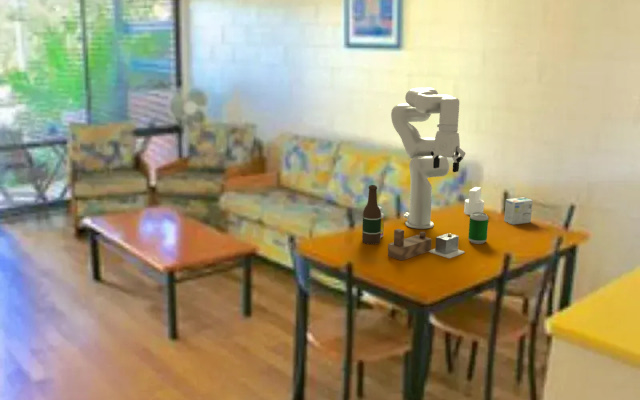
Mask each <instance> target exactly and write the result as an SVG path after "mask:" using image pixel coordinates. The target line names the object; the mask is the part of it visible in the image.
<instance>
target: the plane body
mask: <svg viewBox="0 0 640 400" xmlns="http://www.w3.org/2000/svg"><path fill="white" fill-rule="evenodd" d="M426 234H427V233H426V232H425V231H420V232H419V234H415V235H413V236H410V237H407V238H405V230H404V229H401V228H397V229H394V231H393V242H390V243H388V246H387V256H388V257H389V258H393V259H396V260H399V261H405V260H407V259H410V258H413V257H416V256H419V255H422V254H425V253H429V250H432V243H433V242H432V241H433V239H432V238H430V237H427V236H426Z"/></svg>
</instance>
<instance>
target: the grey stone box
mask: <svg viewBox="0 0 640 400" xmlns="http://www.w3.org/2000/svg"><path fill="white" fill-rule="evenodd" d="M459 238H460V237H459V235H457V234H453V233H451V232H448V233H444V234H442V235H438V236H436V237H435V248H434V249H435V252H439V253H442V254H445V255H446V254H449V253H452V252H454V251H457V250H459V241H460V240H459Z"/></svg>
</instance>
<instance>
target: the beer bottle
mask: <svg viewBox="0 0 640 400" xmlns="http://www.w3.org/2000/svg"><path fill="white" fill-rule="evenodd" d="M377 194H378V186H377V185H375V184H370V185H368V196H367V197H368V198H367V203H366V205H365V207H364V208H363V211H362V231H361V233H362V234H361V239H362V243H364V244H366V245H377V244H380V243H381V238H380V235H381V212H382V211H381V212H380V209H379V207H378V206H379V205H378V197H377V196H378V195H377Z"/></svg>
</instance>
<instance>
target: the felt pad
mask: <svg viewBox="0 0 640 400" xmlns="http://www.w3.org/2000/svg"><path fill="white" fill-rule="evenodd" d="M428 253H431V254H433V255H437V256H440V257H444V258H445V259H446V258H447V259H452V258H455V257H457V256H460V255H462V254H465V253H466V252H465V251H464V250H460V249H458V250H457V251H454V252H452V253H449V254H446V255H445V254H442V253H439V252H435V248H433V249H432V248H431V250H429V251H428Z"/></svg>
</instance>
